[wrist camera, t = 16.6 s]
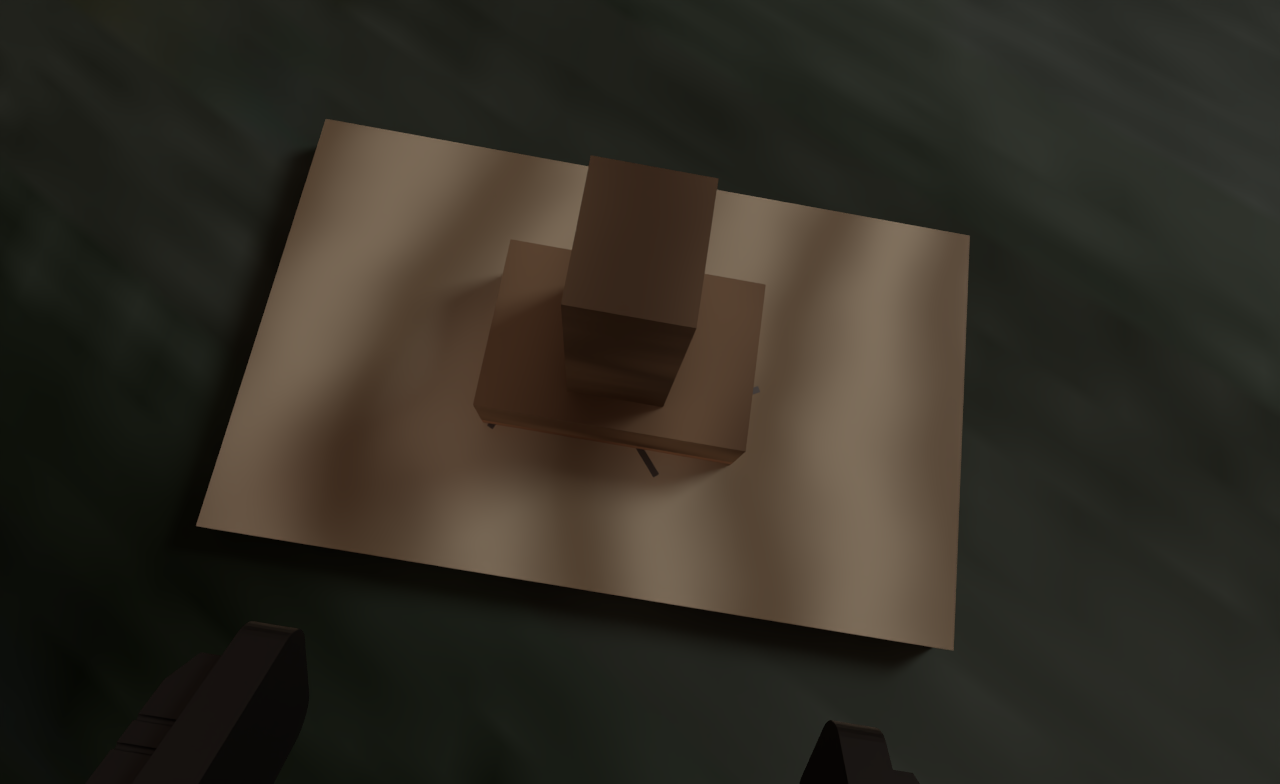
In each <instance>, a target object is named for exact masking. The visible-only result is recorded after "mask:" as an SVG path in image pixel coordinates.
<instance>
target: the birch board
mask: <svg viewBox="0 0 1280 784" xmlns="http://www.w3.org/2000/svg"><path fill="white" fill-rule="evenodd" d="M587 172H588V166H582V165H577V164H571V163H566V162H560V161H555V160H549V159H544V158H538V157H533V156H527V155H522V154H516V153H511V152H505V151H500V150H494V149H489V148H483V147H478V146H472V145H467V144H461V143H456V142H450V141H445V140H439V139H433V138H428V137H422V136H417V135H411V134H406V133H400V132H395V131H389V130H384V129H378V128H373V127H367V126H362V125H356V124H351V123H345V122H340V121H334V120H329V119H326V120H325V123H324V126H323V130H322V133H321V136H320V139H319V142H318V145H317V148H316V151H315V155H314V158H313V161H312V164H311V167H310V170H309V173H308V176H307V180H306V183H305V186H304V189H303V192H302V195H301V198H300V202H299V205H298V208H297V211H296V214H295V217H294V220H293V223H292V227H291V230H290V233H289V236H288V239H287V242H286V245H285V249H284V252H283V255H282V258H281V261H280V264H279V267H278V270H277V274H276V277H275V280H274V283H273V286H272V289H271V292H270V295H269V299H268V302H267V305H266V308H265V311H264V314H263V317H262V321H261V324H260V327H259V330H258V333H257V336H256V339H255V342H254V346H253V349H252V352H251V355H250V358H249V361H248V364H247V367H246V371H245V374H244V377H243V380H242V383H241V386H240V389H239V393H238V396H237V399H236V402H235V405H234V408H233V411H232V414H231V418H230V421H229V424H228V427H227V430H226V433H225V436H224V440H223V443H222V446H221V449H220V452H219V455H218V458H217V461H216V465H215V468H214V471H213V474H212V477H211V480H210V483H209V486H208V490H207V493H206V496H205V499H204V502H203V505H202V508H201V512H200V515H199V518H198V521H197V524H196V526H199V527H204V528H210V529H215V530H221V531H227V532H233V533H239V534H246V535H252V536H258V537H264V538H270V539H276V540H282V541H288V542H294V543H300V544H306V545H312V546H318V547H325V548H331V549H337V550H343V551H349V552H355V553H361V554H367V555H373V556H379V557H385V558H391V559H398V560H404V561H410V562H416V563H422V564H428V565H434V566H440V567H446V568H452V569H458V570H464V571H471V572H477V573H483V574H489V575H495V576H501V577H507V578H513V579H519V580H525V581H531V582H537V583H544V584H550V585H556V586H562V587H568V588H574V589H580V590H586V591H592V592H598V593H604V594H610V595H616V596H623V597H629V598H635V599H641V600H647V601H653V602H659V603H665V604H671V605H677V606H683V607H689V608H696V609H702V610H708V611H714V612H720V613H726V614H732V615H738V616H744V617H750V618H756V619H762V620H769V621H775V622H781V623H787V624H793V625H799V626H805V627H811V628H817V629H823V630H829V631H835V632H842V633H848V634H854V635H860V636H866V637H872V638H878V639H884V640H890V641H896V642H902V643H908V644H914V645H921V646H927V647H933V648H940V649H947V650H954V624H955V599H956V573H957V548H958V522H959V496H960V471H961V445H962V419H963V394H964V368H965V342H966V317H967V291H968V265H969V240H970V236H968V235H962V234H957V233H951V232H946V231H940V230H935V229H929V228H924V227H918V226H913V225H907V224H902V223H896V222H891V221H885V220H880V219H874V218H869V217H863V216H858V215H852V214H847V213H841V212H836V211H830V210H825V209H819V208H814V207H808V206H803V205H797V204H792V203H786V202H781V201H775V200H770V199H764V198H759V197H753V196H748V195H742V194H737V193H731V192H726V191H720V190H717V192H716V199H715V205H714V212H713V219H712V226H711V233H710V240H709V247H708V253H707V260H706V267H705V274H709V275H715V276H720V277H726V278H732V279H737V280H743V281H749V282H754V283H760V284H765V285H766V287H765V296H764V304H763V312H762V321H761V329H760V337H759V346H758V354H757V362H756V370H755V379H754V387H753V395H752V404H751V412H750V420H749V429H748V437H747V445H746V452H745V453H743V454H742V455H741V456H740V457H739V458H738V459H737V460H736V461H734V462H733V463H732V464H725V463H719V462H713V461H707V460H702V459H696V458H690V457H684V456H678V455H672V454H666V453H660V452H655V451H649V450H643V449H637V448H631V447H625V446H619V445H614V444H608V443H602V442H596V441H590V440H584V439H578V438H572V437H567V436H561V435H555V434H549V433H543V432H537V431H531V430H525V429H520V428H514V427H508V426H502V425H496V424H490V423H484V422H482V420H481V418H480V416H479V415H478V413H477V411H476V409H475V408H474V406H473V402H474V398H475V394H476V389H477V385H478V380H479V376H480V372H481V367H482V363H483V358H484V354H485V350H486V345H487V341H488V336H489V332H490V328H491V323H492V319H493V314H494V310H495V306H496V301H497V297H498V292H499V288H500V284H501V279H502V275H503V270H504V266H505V262H506V257H507V253H508V248H509V244H510V240H511V239H512V240H518V241H524V242H529V243H535V244H541V245H546V246H552V247H557V248H563V249H569V250H572V246H573V242H574V237H575V232H576V227H577V222H578V217H579V212H580V207H581V202H582V197H583V192H584V187H585V182H586V177H587Z"/></svg>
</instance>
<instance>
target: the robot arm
mask: <svg viewBox="0 0 1280 784" xmlns="http://www.w3.org/2000/svg"><path fill="white" fill-rule="evenodd" d="M308 702H309V687H308V674H307V661H306V648H305V637H304V633H303V631H302V630H301V629H296V628H290V627H284V626H278V625H272V624H266V623H260V622H254V621H250V622H248V623H247V624H245V625H244V626H243V627H242V628H241V629H240V630H239V632H238V633H237V634H236V636H235V637H234V639H233V640H232V642H231V643H230V644H229V646H228V647H227V649H226V650H225V652H224V653H223V654H222V656H219V655H213V654H207V653H200V654H198V655H197V656H195V657H194V658H193V659H191V660H190V661H189V662H187V663H186V664H185V665H183V666H182V667H181V668H179V669H178V670H176V671H175V672H174V673H172V674H171V675H170V676H168V677H167V678H166V679H164V681H163V682H162V683H161V685H160V686H159V687H158V688H157V690H156V691H155V692H154V694H153V695H152V696H151V698H150V699H149V700H148V702H147V703H146V704H145V706H144V707H143V708H142V710H141V711H140V712H139V715H138V718H137V720H136V721H135V720H133V721H132V723H131V724H130V725H129V727H128V728H127V729H126V731H125V732H124V733H123V735H122V736H121V737H120V739H119V740H118V741H117V745H116V747H115V749H114V750H113V749H111V750H110V752H109V753H108V754H107V756H106V757H105V758H104V760H103V761H102V762H101V764H100V765H99V766H98V768H97V769H96V770H95V772H94V773H93V774H92V776H91V777H90V778H89V779H88V781H87V782H86V783H85V784H274V782H275V780H276V778H277V776H278V774H279V772H280V770H281V768H282V766H283V765H284V763H285V761H286V759H287V757H288V755H289V753H290V751H291V749H292V747H293V745H294V744H295V742H296V740H297V738H298V735H299V733H300V731H301V728H302V725H303V723H304V719H305V716H306V712H307V708H308ZM800 784H919V782H918V781H917V779H916V777H915V776H914V774H913V773H908V772H902V771H896V770H893V769H892V765H891V761H890V757H889V753H888V749H887V745H886V742H885V738H884V736H883V734H882V732H881V731H880V730H879V729H877V728H873V727H867V726H862V725H856V724H850V723H844V722H838V721H832V720H830V721H828V722H827V723H826V724H825V726H824V728H823V730H822V732H821V735H820V737H819V739H818V741H817V744H816V746H815V748H814V750H813V753H812V755H811V757H810V759H809V761H808V764H807V766H806V768H805V770H804V773H803V775H802V777H801V780H800Z"/></svg>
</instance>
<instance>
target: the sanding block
mask: <svg viewBox="0 0 1280 784" xmlns="http://www.w3.org/2000/svg"><path fill="white" fill-rule="evenodd" d="M717 185H718V179H717V178H712V177H706V176H701V175H695V174H690V173H684V172H679V171H673V170H668V169H662V168H657V167H651V166H646V165H640V164H635V163H629V162H624V161H618V160H613V159H607V158H602V157H596V156H591V157H590V162H589V167H588V172H587V177H586V182H585V187H584V192H583V197H582V202H581V207H580V212H579V217H578V222H577V227H576V232H575V237H574V242H573V246H572V250H569V249H563V248H557V247H552V246H546V245H541V244H535V243H529V242H524V241H518V240H512V239H511V240H510V244H509V248H508V253H507V257H506V262H505V266H504V270H503V275H502V279H501V284H500V288H499V292H498V297H497V301H496V306H495V310H494V314H493V319H492V323H491V328H490V332H489V336H488V341H487V345H486V350H485V354H484V358H483V363H482V367H481V372H480V376H479V380H478V385H477V389H476V394H475V398H474V402H473V406H474V408H475V409H476V411H477V413H478V415H479V416H480V418H481V420H482V422H484V423H490V424H496V425H502V426H508V427H514V428H520V429H525V430H531V431H537V432H543V433H549V434H555V435H561V436H567V437H572V438H578V439H584V440H590V441H596V442H602V443H608V444H614V445H619V446H625V447H631V448H637V449H643V450H649V451H655V452H660V453H666V454H672V455H678V456H684V457H690V458H696V459H702V460H707V461H713V462H719V463H725V464H732V463H733V462H734V461H736V460H737V459H738V458H739V457H740V456H741V455H742V454H743V453H745V452H746V445H747V437H748V429H749V420H750V412H751V404H752V395H753V387H754V379H755V370H756V362H757V354H758V346H759V337H760V329H761V321H762V312H763V304H764V296H765V287H766V285H765V284H760V283H754V282H749V281H743V280H737V279H732V278H726V277H720V276H715V275H709V274H705V267H706V260H707V253H708V247H709V240H710V233H711V226H712V219H713V212H714V205H715V199H716V192H717Z"/></svg>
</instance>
